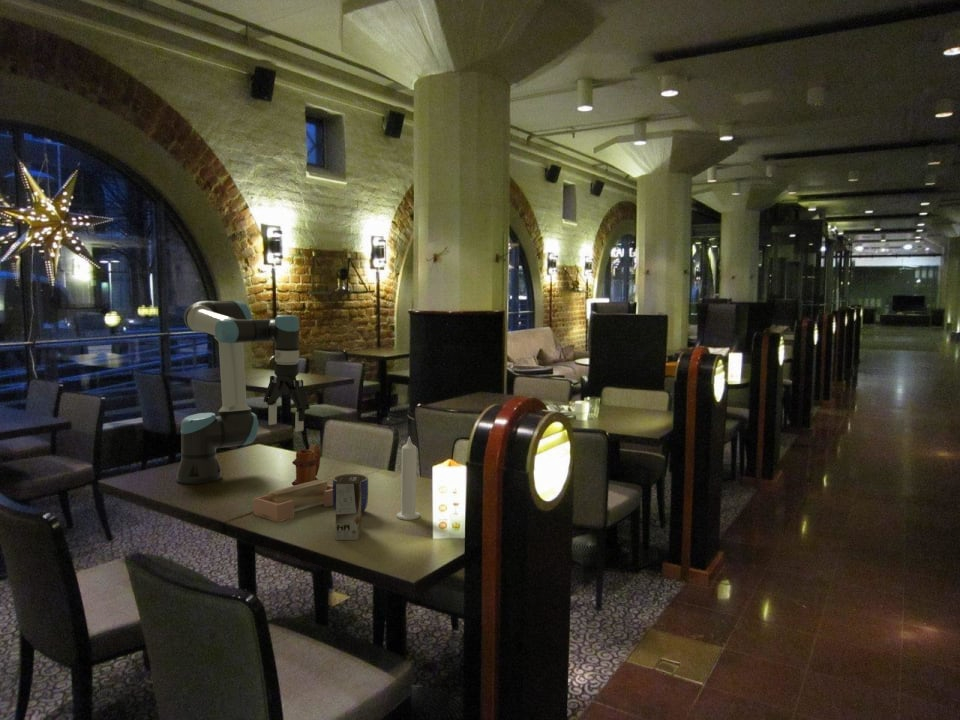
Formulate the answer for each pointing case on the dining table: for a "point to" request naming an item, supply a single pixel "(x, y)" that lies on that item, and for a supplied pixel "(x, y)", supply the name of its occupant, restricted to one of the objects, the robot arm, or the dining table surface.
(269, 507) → the endcap rail
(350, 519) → the coffee box
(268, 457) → the dining table surface
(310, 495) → the tan wooden beam
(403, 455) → the candle
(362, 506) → the planter
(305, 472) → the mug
